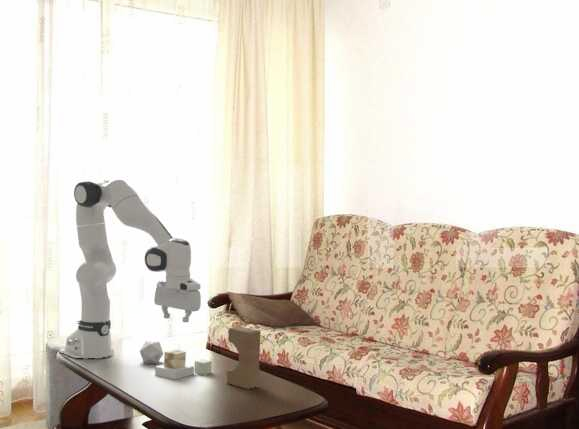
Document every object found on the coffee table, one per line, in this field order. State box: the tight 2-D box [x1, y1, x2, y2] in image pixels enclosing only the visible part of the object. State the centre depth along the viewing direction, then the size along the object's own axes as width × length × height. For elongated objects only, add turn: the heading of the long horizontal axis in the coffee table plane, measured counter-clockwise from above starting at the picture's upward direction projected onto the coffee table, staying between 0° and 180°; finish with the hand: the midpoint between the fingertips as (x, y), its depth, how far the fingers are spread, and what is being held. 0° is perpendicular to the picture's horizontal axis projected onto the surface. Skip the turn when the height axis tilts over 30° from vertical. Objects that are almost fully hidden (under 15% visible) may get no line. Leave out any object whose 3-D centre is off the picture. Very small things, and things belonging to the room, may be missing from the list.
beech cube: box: [163, 348, 187, 369], centre depth 270 cm, size 6×6×6 cm
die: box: [139, 340, 164, 365], centre depth 286 cm, size 8×9×10 cm
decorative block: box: [226, 326, 261, 390], centre depth 259 cm, size 11×6×20 cm, turn 48°
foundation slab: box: [154, 363, 195, 380], centre depth 270 cm, size 10×10×3 cm
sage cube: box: [194, 358, 213, 376], centre depth 274 cm, size 4×4×4 cm
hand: (176, 320), depth 269 cm, fingers open, 8 cm apart
